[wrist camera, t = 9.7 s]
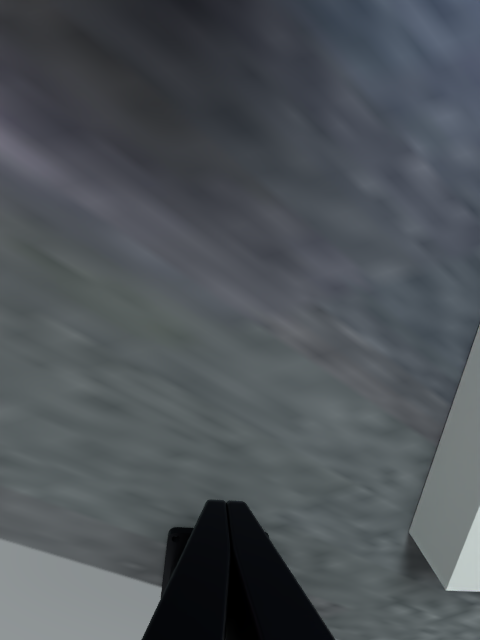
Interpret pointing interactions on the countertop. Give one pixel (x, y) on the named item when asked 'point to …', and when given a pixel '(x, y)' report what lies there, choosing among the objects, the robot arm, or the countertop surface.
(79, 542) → the countertop surface
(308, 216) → the countertop surface
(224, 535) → the robot arm
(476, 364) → the keypad
